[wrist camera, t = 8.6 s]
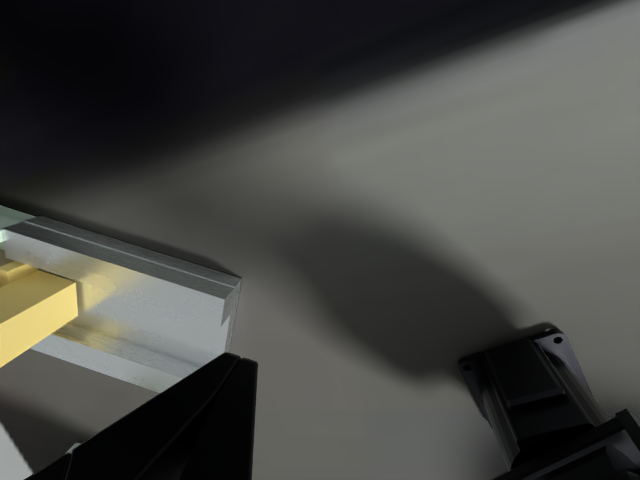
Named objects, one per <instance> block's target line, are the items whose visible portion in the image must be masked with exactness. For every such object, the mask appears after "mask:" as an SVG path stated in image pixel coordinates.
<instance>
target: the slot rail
mask: <svg viewBox="0 0 640 480" xmlns="http://www.w3.org/2000/svg"><path fill="white" fill-rule="evenodd" d="M1 231H2V237H3V243H4V250H5V256H6V258H8V259H11V260H14V261H17V262H20V263H23V264H26V265H29V266H33V267H36V268H38V270H39V271H43V272H46V273H49V274H52V275H55V276H58V277H61V278H64V279H67V280H70V281H73V282H76V293H77V308H78V316H77V317H75V318H74V319H72V320H71V321H69V322H68V323H66V324H65V325H63V326H62V327H60V328H59V329H57V330H56V331H54V332H53V333H51V334H50V335H48V336H47V337H45V338H44V339H42V340H41V341H39V342H38V343H36V344H35V345H33V346H32V347H30V349H33V350H36V351H39V352H42V353H45V354H48V355H51V356H54V357H57V358H59V359H62V360H65V361H68V362H71V363H74V364H77V365H80V366H83V367H86V368H89V369H91V370H94V371H97V372H100V373H103V374H106V375H109V376H112V377H115V378H118V379H121V380H123V381H126V382H129V383H132V384H135V385H138V386H141V387H144V388H147V389H150V390H153V391H156V392H158V393H161V392H163V391H165V390H166V389H168V388H169V387H171V386H172V385H174V384H176V383H177V382H179V381H180V380H182V379H183V378H185V377H187V376H188V375H190V374H191V373H193V372H194V371H196V370H197V369H199V368H201V367H202V366H204V365H205V364H207V363H208V362H210V361H212V360H213V359H215V358H216V357H218V356H219V355H221V354H222V353H225V352H229V351H230V345H231V339H232V333H233V328H234V322H235V316H236V310H237V304H238V299H239V293H240V287H241V281H242V278H239V277H236V276H232V275H229V274H226V273H223V272H220V271H216V270H213V269H210V268H207V267H204V266H200V265H197V264H194V263H191V262H188V261H184V260H181V259H178V258H175V257H172V256H168V255H165V254H162V253H159V252H156V251H152V250H149V249H146V248H143V247H140V246H136V245H133V244H130V243H127V242H124V241H120V240H117V239H114V238H111V237H108V236H104V235H101V234H98V233H95V232H92V231H88V230H85V229H82V228H79V227H75V226H72V225H69V224H66V223H63V222H59V221H56V220H53V219H50V218H47V217H43V216H38V217H35V218H32V219H28V220H25V221H24V222H21V223H17V224H14V225H11V226H7V227H4V228H1Z"/></svg>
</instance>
